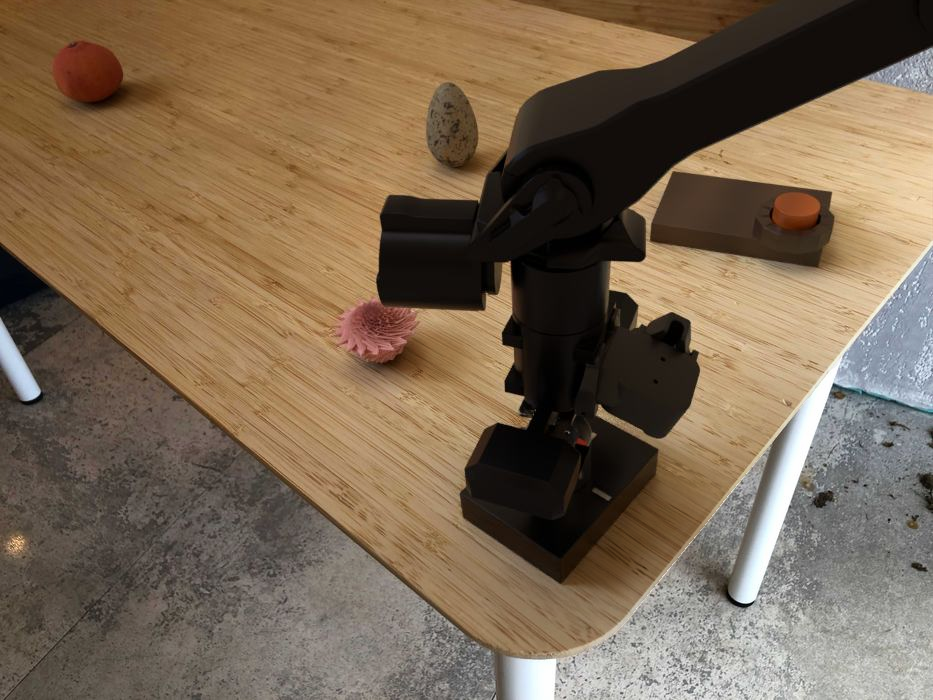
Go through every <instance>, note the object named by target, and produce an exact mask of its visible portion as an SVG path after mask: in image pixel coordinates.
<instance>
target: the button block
mask: <svg viewBox="0 0 933 700" xmlns="http://www.w3.org/2000/svg"><path fill="white" fill-rule="evenodd" d="M791 192H798V193H804V194H808V195H810V196H812V197H814V198H815V199H817V200H818V202H819V203H820V211H819V215H818V219H817V223H816V225H815V226H814V227H813V228H812V229H808V230H802V231H796V230H790V229H784V228H782V227H780V226H778V225H776V224H775V223H774V222H773V220H772V214H773V209H774V204H775V200H776V199H777V197H779V196H780V195H782V194H785V193H791ZM832 196H833V191H831V190H823V189H814V188H807V187H800V186H793V185H792V186H791V185H783V184H776V183H769V182H761V181H760V182H759V181H754V180H745V179H738V178H729V177H723V176H715V175H707V174H699V173H691V172H685V171H684V172H683V171H676V170H672V172H671V174H670V177H669V180H668V182H667V183H666V186H665V189H664V191H663V193H662V196H661V198H660V201H659V202H658V206H657V208H656V211H655V212H654V216H653V218H652V220H651V222H650V233H649V241H650V242H655V243H661V244H668V245H674V246H680V247H687V248H693V249H700V250H706V251H713V252H718V253H723V254H731V255H738V256H744V257H750V258H754V259H755V258H756V259H762V260H768V261H775V262H781V263H787V264H794V265H800V266H806V267H813V268H819V266H820V262H821V257H822V254H823V250H824V247H825V246H827V245H828V244H830V240H831V237H832V233H833V230H834V223H835V217H836V216H835V215H834V213H832V211H831V210H830V209H831V203H832Z"/></svg>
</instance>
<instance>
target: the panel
mask: <svg viewBox="0 0 933 700" xmlns="http://www.w3.org/2000/svg"><path fill="white" fill-rule="evenodd" d="M585 421H586V422H587V423H588V424H589V426H590V428H591V432H592V448H591V475H590V478H589V480H588V482H587V483H586V484H585V485H584V486H583V487H582V488H581V489H579V490H577V491H575V492H573V493H572V496H571V499H570V501H569V504H568V506H567V509H566V512H565V514H564V516H562V517H559V518H557V519H554V520H549V519H545V518H542V517H538V516H535V515H531V514H528V513H524V512H521V511H517V510H514V509H510V508H507V507H503V506H500V505H496V504H493V503H489V502H486V501H482V500H479V499H476V498H472V497H471V496H470V494H469V492H468V490H467V488H466V486H465V487H464V488H463V489H462V490H461V491H460V492H459V499H460V507H461V514H462V518H463V519H464V520H466V521H467V522H469V523H470V524H472V525H473V526H474V527H476V528H477V529H479V530H480V531H482V532H483V533H485V534H486V535H487V536H489V537H490V538H492V539H494V540H495V541H496V542H498V543H499V544H501V545H502V546H503V547H505V548H507V550H510V551H511V552H513V553H514V554H515V555H517V556H519V557H520V558H521V559H523V560H524V561H526V562H527V563H529V564H530V565H532V566H533V567H535V568H536V569H538V570H539V571H540V572H542V573H543V574H545V575H546V576H547V577H549V578H551V579H552V580H553V581H555V582H556V583H558V584H559V585H562V583H564V581H565V580H567V578H568V577H569V575H570V574H571V573H572V572H573V571H574V570H575V569H576V568H577V566H578V565H579V564H580V563H581V562H582V561H583V559H584V558H585V556H587V555H588V554H589V553H590V551H591V550H592V549H593V548H594V547H595V545H596V544H598V543H599V541H600V540H601V538H602V537H604V535H605V534H606V533H607V532H608V531H609V529H610V528H611V527H612V526H613V525H614V524H615V523H616V521H618V520H619V518H620V517H621V516H622V514H623V513H624V512H625V511H626V509H628V507H630V505H631V504H632V503H633V502H634V500H635V499H636V498H637V497H638V496H639V495H640V494H641V492H642V491H643V490H644V489H646V487H647V485H649V483H650V482H651V481H652V480H653V479H654V477H656V475H657V469H658V458H659V450H660V449H659V448H657V447H656V446H654V445H652V444H650V443H648V442H646V441H644V440H643V439H640V438H639V437H638V436H636V435H633V434H631V433H630V432H628V431H626V430H624V429H623V428H621V427H618V426H616V425H615V424H613V423H611V422H609V421H607V420H605V419H603V418H602V417H600V416H598V415H596V416H595V419H590V418H586V417H585Z"/></svg>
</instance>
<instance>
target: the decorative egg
mask: <svg viewBox="0 0 933 700" xmlns="http://www.w3.org/2000/svg"><path fill="white" fill-rule="evenodd" d="M425 120H426V121H425V138H426V143H427V147H428V149H429V152H430V153H431V155H432V157H433V158H434V159H435V160H436V161H437V162H438V163H440V164H442V165H443V166H446V167H450V168H456V167H461V166H463V165H465V164H467V163H468V162H469V161H470V160H471V159H472V158H473V157H474V155H475V153H476V151H477V149H478V145H479V128H478V122H477V118H476V115H475V111H474V110H473V107H472V105H471V102H470V100H469V99H468V97H467V96H466V94H465V92H464V91H463V90H462V89H461V88H460V87H459V85H457V84H455V83H453V82H450V81H447V82H443V83H440V85H438V86H437V88H436V89H435V90H434V92H433V94H432V95H431V99H430V102H429V105H428V108H427V113H426V119H425Z"/></svg>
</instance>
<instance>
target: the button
mask: <svg viewBox="0 0 933 700" xmlns="http://www.w3.org/2000/svg"><path fill="white" fill-rule="evenodd" d="M819 211H820V203H819V202H818V200H817V199H815V198H814V197H812V196H810V195H808V194H804V193H798V192H791V193H785V194H782V195H780V196H779V197H777V199H776V200H775V204H774V209H773V214H772V220H773V222H774V223H775V224H776V225H778V226H780V227H782V228H784V229H790V230H796V231H802V230H808V229H812V228H813V227H814V226H815V225H816V223H817V219H818V215H819Z"/></svg>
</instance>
